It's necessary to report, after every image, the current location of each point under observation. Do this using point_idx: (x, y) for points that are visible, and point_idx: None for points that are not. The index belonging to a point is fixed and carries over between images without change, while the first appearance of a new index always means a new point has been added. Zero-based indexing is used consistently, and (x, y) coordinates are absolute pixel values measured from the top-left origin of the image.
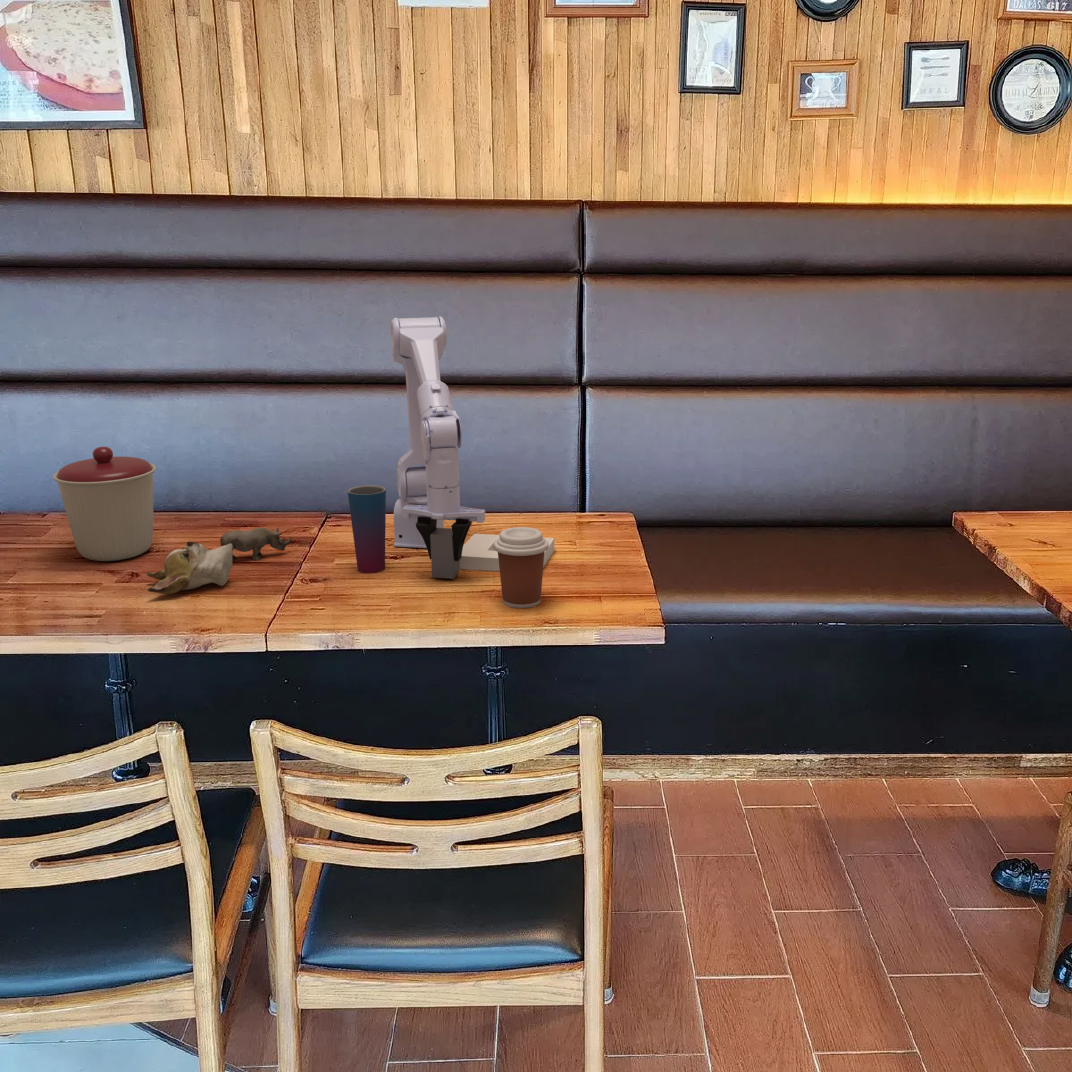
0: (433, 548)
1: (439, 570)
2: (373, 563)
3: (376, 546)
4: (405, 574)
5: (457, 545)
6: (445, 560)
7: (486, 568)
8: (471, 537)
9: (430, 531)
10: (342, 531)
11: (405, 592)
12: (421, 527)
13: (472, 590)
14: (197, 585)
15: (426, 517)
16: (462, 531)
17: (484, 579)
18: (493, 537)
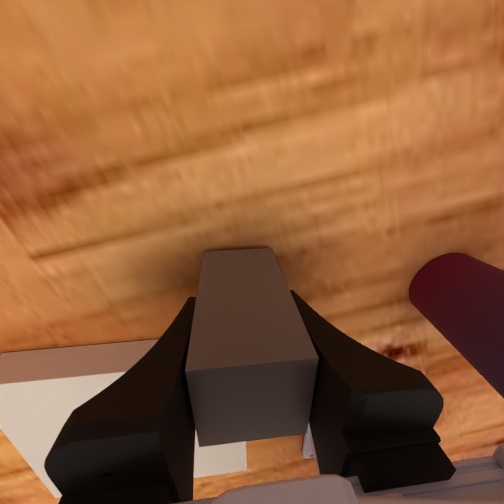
0: (283, 305)
1: (249, 259)
2: (457, 270)
3: (496, 307)
4: (352, 268)
5: (171, 335)
6: (228, 281)
7: (152, 344)
8: (244, 455)
9: (324, 380)
10: (495, 426)
11: (323, 120)
12: (391, 378)
13: (111, 190)
14: None
15: (392, 483)
16: (90, 403)
17: (126, 285)
18: (195, 466)
